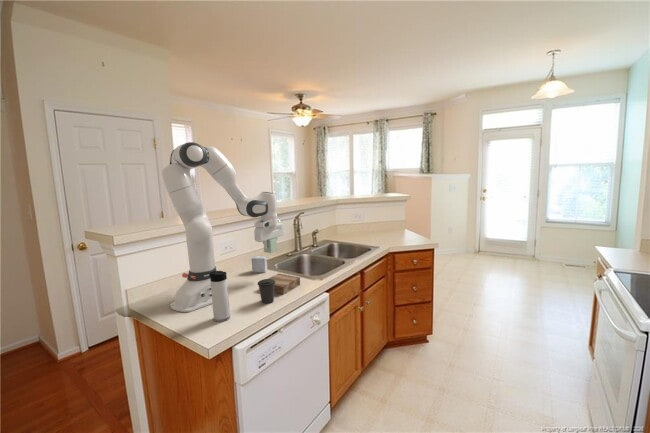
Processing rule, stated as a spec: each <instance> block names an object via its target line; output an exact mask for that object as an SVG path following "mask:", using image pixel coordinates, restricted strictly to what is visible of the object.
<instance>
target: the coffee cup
mask: <svg viewBox="0 0 650 433" xmlns="http://www.w3.org/2000/svg"><path fill="white" fill-rule="evenodd" d="M275 283H276V282H275V280H273V279H268V278H265V279H261V280H259V281H258V282H257V286H258V289H259V295H260V300H261V303H262V304H263V305H268V304H270V305H271V304H273V303H274V299H275V293H274V285H275Z"/></svg>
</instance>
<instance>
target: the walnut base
mask: <svg viewBox="0 0 650 433" xmlns="http://www.w3.org/2000/svg"><path fill="white" fill-rule="evenodd" d="M267 279H273V280H275V282H276V283H275V285H274V294H278V295H282V296H283V295H285V294H287V293H289V292H291V291H292V290H294V289H296V288H298V287H299V286H301V277H299V276H295V275H288V274H284V273H276V274H275V275H272V276H270V277H269V278H267Z"/></svg>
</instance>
